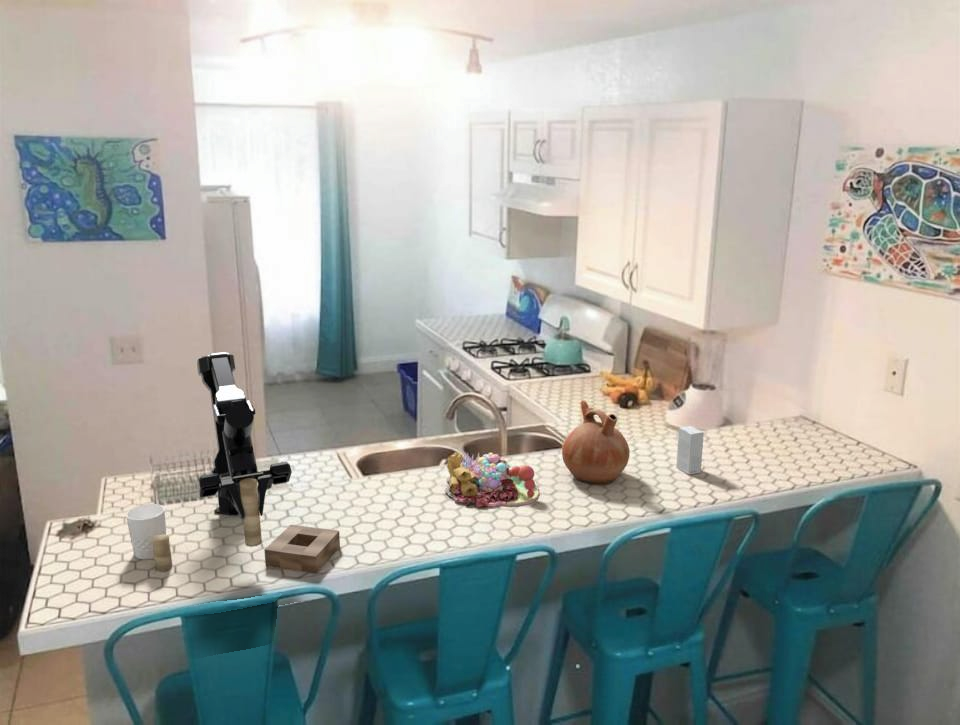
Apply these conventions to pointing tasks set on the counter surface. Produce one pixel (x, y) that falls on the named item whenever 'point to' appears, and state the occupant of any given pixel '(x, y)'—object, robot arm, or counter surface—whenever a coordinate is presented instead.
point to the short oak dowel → (162, 552)
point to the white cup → (145, 528)
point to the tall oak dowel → (250, 512)
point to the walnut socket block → (302, 548)
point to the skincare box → (690, 450)
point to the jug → (595, 448)
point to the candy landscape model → (490, 481)
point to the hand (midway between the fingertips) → (252, 516)
